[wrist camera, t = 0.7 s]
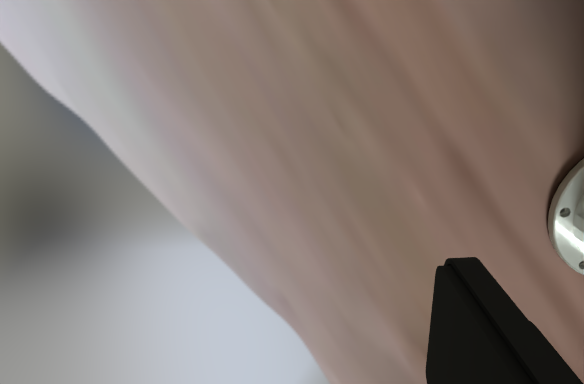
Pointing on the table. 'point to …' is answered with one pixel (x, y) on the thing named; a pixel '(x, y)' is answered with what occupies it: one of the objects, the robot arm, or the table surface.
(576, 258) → the robot arm
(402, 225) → the table surface
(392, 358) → the table surface
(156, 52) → the table surface
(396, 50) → the table surface
